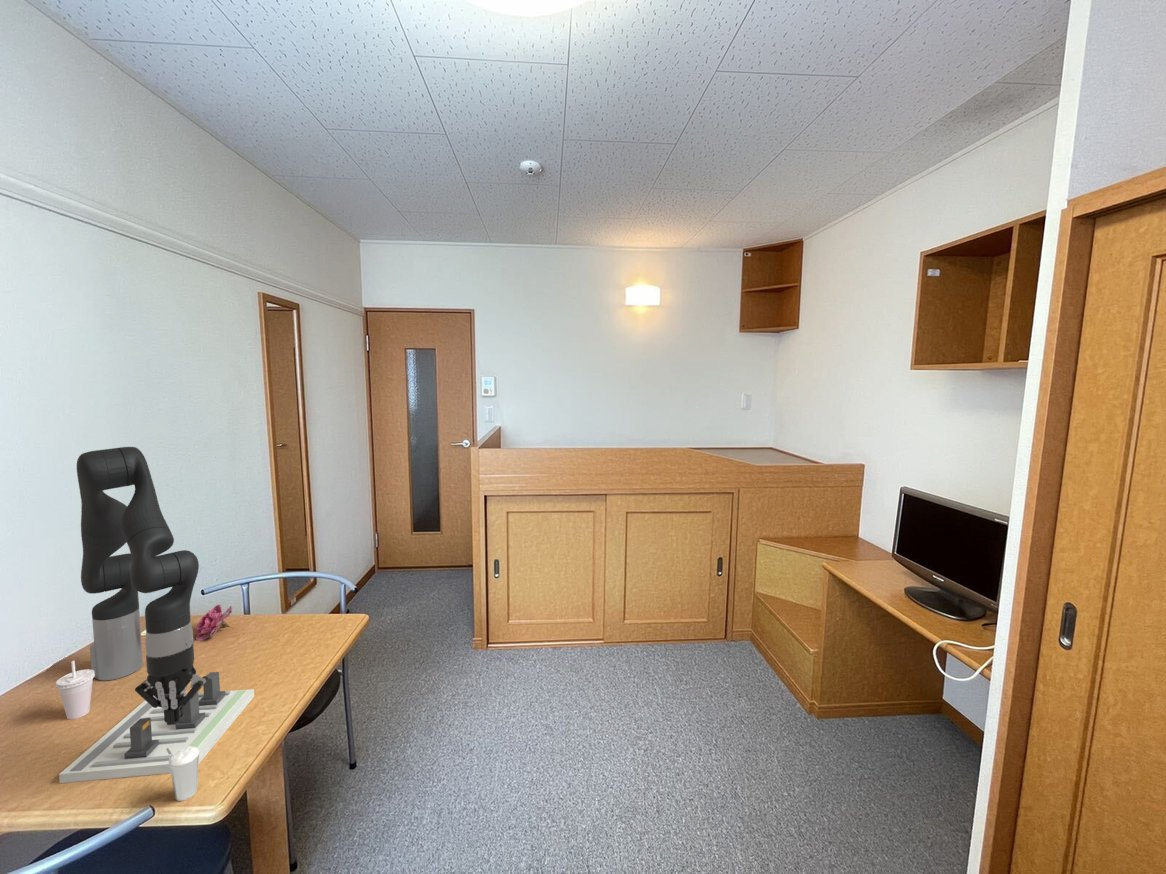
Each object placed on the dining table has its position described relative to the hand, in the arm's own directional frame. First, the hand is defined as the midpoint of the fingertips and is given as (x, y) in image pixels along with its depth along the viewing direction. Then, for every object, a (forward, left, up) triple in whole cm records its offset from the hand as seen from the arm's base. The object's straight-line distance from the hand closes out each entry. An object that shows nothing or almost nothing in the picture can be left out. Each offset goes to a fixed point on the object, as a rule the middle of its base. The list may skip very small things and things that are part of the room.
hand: (174, 722), depth 99 cm
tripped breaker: (-7, 0, -6) cm, 9 cm away
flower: (-24, +55, -9) cm, 60 cm away
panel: (-7, +8, -9) cm, 14 cm away
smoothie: (-33, +18, -9) cm, 38 cm away
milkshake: (+7, -10, -9) cm, 15 cm away
